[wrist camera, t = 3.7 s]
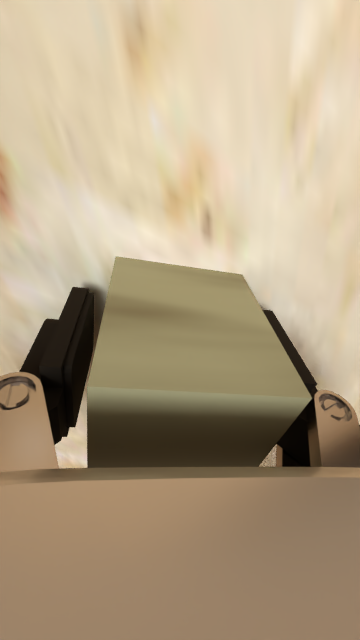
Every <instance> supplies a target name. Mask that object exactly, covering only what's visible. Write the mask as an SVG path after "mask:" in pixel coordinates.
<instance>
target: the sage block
mask: <svg viewBox="0 0 360 640" xmlns="http://www.w3.org/2000/svg"><path fill="white" fill-rule="evenodd" d="M311 399H312V397H311V395H310V393H309V392H308V390H307V388H306V386H305V385H304V383H303V381H302V379H301V378H300V376H299V374H298V372H297V371H296V369H295V367H294V365H293V363H292V362H291V360H290V358H289V356H288V355H287V353H286V351H285V349H284V348H283V346H282V344H281V342H280V341H279V339H278V337H277V335H276V334H275V332H274V330H273V328H272V326H271V325H270V323H269V321H268V319H267V318H266V316H265V314H264V312H263V311H262V309H261V307H260V305H259V304H258V302H257V300H256V298H255V296H254V295H253V293H252V291H251V289H250V288H249V286H248V284H247V282H246V281H245V279H244V277H243V275H241V274H234V273H227V272H220V271H213V270H206V269H199V268H192V267H186V266H179V265H172V264H165V263H158V262H151V261H144V260H137V259H130V258H123V257H116V258H115V262H114V267H113V271H112V276H111V281H110V285H109V290H108V294H107V299H106V303H105V308H104V312H103V317H102V321H101V326H100V330H99V335H98V339H97V344H96V348H95V353H94V357H93V362H92V366H91V371H90V375H89V380H88V385H87V461H88V468H128V467H258V466H259V465H260V464H261V462H262V461H263V460H264V459H265V457H266V456H267V455H268V453H269V452H270V451H271V450H272V448H273V447H274V446H275V445H276V443H277V442H278V441H279V440H280V438H281V437H282V436H283V434H284V433H285V432H286V431H287V429H288V428H289V427H290V426H291V424H292V423H293V422H294V421H295V419H296V418H297V417H298V415H299V414H300V413H301V412H302V410H303V409H304V408H305V407H306V405H307V404H308V403H309V402H310V400H311Z"/></svg>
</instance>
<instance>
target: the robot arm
mask: <svg viewBox="0 0 360 640" xmlns="http://www.w3.org/2000/svg"><path fill="white" fill-rule="evenodd" d="M262 311H263V312H264V314H265V316H266V318H267V319H268V321H269V323H270V325H271V326H272V328H273V330H274V332H275V334H276V335H277V337H278V339H279V341H280V342H281V344H282V346H283V348H284V349H285V351H286V353H287V355H288V356H289V358H290V360H291V362H292V363H293V365H294V367H295V369H296V371H297V372H298V374H299V376H300V378H301V379H302V381H303V383H304V385H305V386H306V388H307V390H308V392H309V393H310V395H311V397H312V399H311V400H310V402H309V403H308V404H307V405H306V407H305V408H304V409H303V410H302V412H301V413H300V414H299V415H298V417H297V418H296V419H295V421H294V422H293V423H292V424H291V426H290V427H289V428H288V429H287V431H286V432H285V433H284V434H283V436H282V437H281V438H280V440H279V441H278V442H277V443H276V444H277V446H276V467H128V468H66V469H59V466H58V461H57V456H56V451H55V446H54V445H55V444H56V443H58V442H59V441H61V439H62V437H67V435H68V431H69V427H75V426H76V422H77V418H78V413H79V409H80V405H81V400H82V396H83V392H84V387H85V383H86V379H87V374H88V370H89V366H90V361H91V357H92V352H93V340H94V293H89V289H87V288H78V287H73V288H72V290H71V292H70V295H69V297H68V299H67V302H66V304H65V306H64V309H63V311H62V313H61V316H60V318H59V320H56V319H46V320H45V321H44V323H43V325H42V327H41V329H40V331H39V333H38V335H37V337H36V339H35V341H34V343H33V345H32V347H31V349H30V352H29V354H28V356H27V358H26V360H25V362H24V364H23V366H22V368H21V370H20V372H14V373H9V374H6V375H3V376H0V640H360V425H359V422H358V419H357V415H356V413H355V410H354V409H353V407H352V406H351V405H350V404H349V403H348V402H347V401H346V400H345V399H344V398H343V397H341V396H340V395H338V394H336V393H334V392H331V391H328V390H320V391H317V389H316V387H315V386H316V385H317V383H316V381H315V380H314V378H313V376H312V375H311V373H310V372H309V370H308V368H307V367H306V365H305V363H304V362H303V360H302V359H301V357H300V355H299V354H298V352H297V350H296V349H295V347H294V346H293V344H292V342H291V341H290V339H289V337H288V336H287V334H286V333H285V331H284V329H283V328H282V326H281V324H280V323H279V321H278V319H277V318H276V316H275V315H274V313H273V312H272V311H270V310H262Z"/></svg>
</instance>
